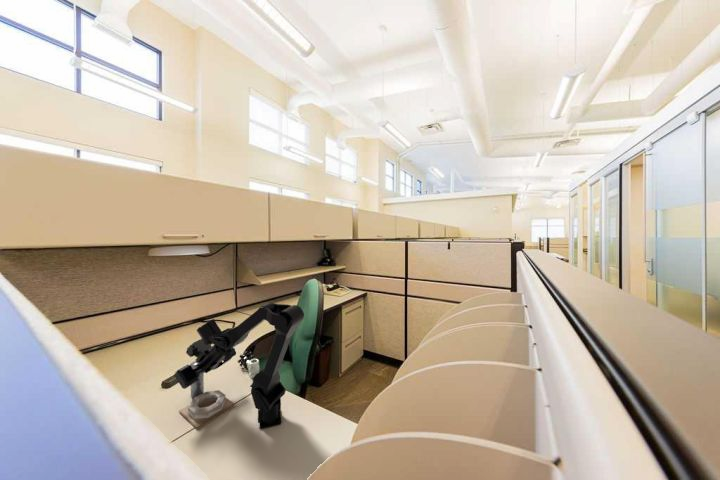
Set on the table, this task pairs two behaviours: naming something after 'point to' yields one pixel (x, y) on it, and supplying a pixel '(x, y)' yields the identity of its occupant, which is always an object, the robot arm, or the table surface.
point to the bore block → (206, 408)
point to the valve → (250, 364)
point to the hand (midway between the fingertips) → (194, 376)
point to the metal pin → (197, 383)
